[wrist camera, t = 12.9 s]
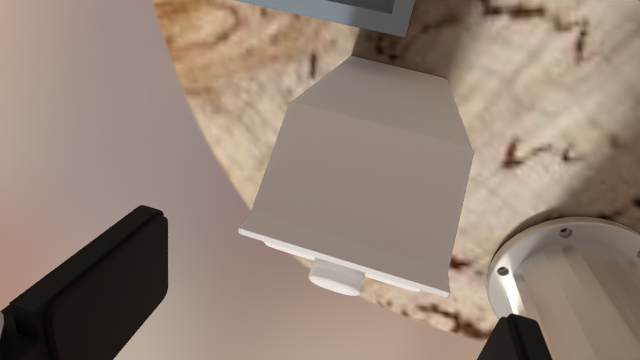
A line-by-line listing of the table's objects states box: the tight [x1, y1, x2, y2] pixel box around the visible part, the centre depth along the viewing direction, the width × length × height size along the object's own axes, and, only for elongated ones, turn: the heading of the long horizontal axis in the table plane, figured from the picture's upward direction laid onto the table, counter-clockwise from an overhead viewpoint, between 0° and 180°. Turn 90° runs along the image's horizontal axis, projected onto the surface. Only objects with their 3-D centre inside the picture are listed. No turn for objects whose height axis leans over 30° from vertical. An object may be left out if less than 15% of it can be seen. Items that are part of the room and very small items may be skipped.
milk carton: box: [238, 56, 474, 297], centre depth 21 cm, size 7×7×19 cm
